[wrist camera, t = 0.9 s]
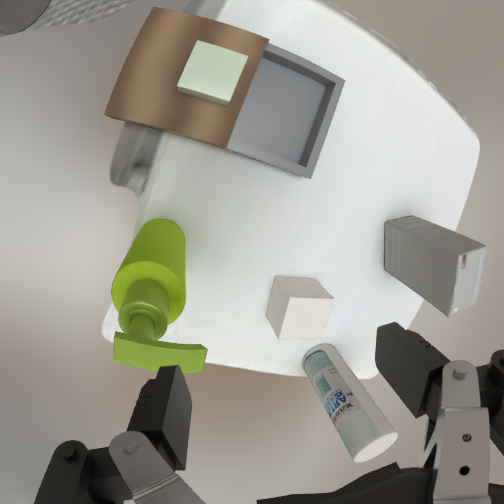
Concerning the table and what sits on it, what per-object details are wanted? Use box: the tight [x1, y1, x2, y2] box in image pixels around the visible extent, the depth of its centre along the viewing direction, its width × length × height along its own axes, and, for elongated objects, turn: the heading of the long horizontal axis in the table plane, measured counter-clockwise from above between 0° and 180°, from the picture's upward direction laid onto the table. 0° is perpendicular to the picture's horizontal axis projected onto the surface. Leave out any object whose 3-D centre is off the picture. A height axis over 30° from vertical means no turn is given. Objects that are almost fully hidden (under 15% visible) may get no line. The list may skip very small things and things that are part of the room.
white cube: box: [266, 276, 334, 340], centre depth 36 cm, size 6×6×6 cm
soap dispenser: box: [111, 219, 208, 373], centre depth 23 cm, size 6×7×20 cm
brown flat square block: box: [105, 7, 270, 148], centre depth 25 cm, size 13×13×4 cm
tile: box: [177, 40, 248, 106], centre depth 22 cm, size 5×5×2 cm
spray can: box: [302, 344, 398, 462], centre depth 35 cm, size 6×6×20 cm
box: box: [223, 43, 345, 179], centre depth 29 cm, size 10×13×3 cm
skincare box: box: [385, 216, 487, 318], centre depth 33 cm, size 8×7×16 cm
